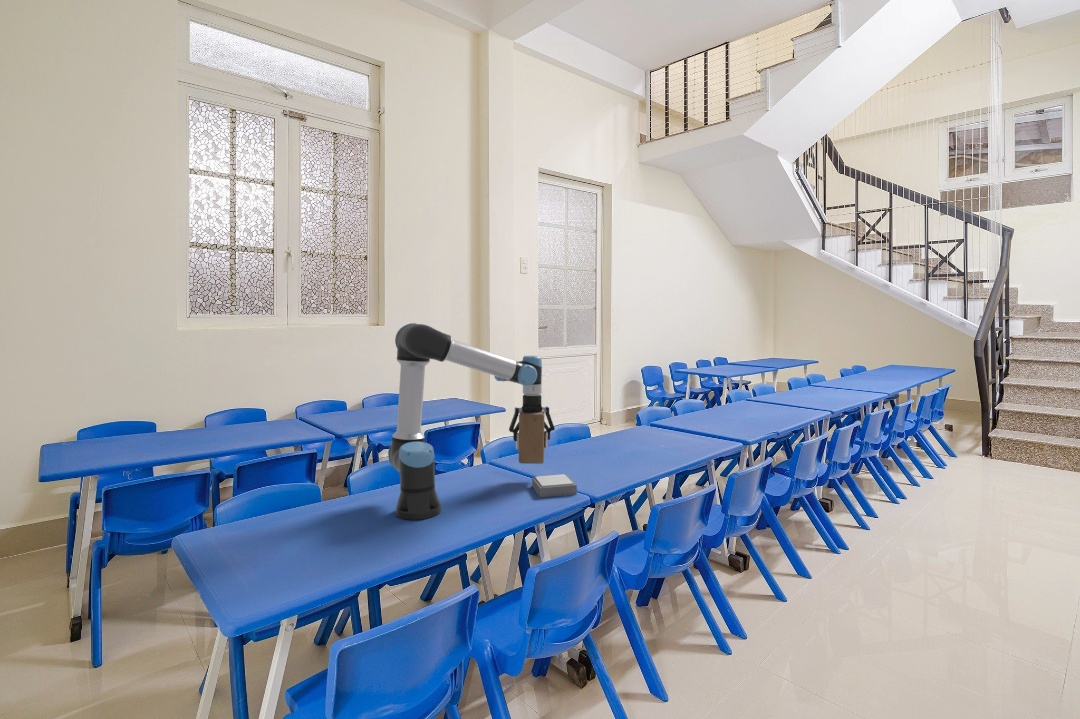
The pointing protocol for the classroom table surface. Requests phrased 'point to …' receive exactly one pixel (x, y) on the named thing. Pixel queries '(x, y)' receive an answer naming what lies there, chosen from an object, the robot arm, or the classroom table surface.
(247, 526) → the classroom table surface
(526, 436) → the wooden block
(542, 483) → the base
